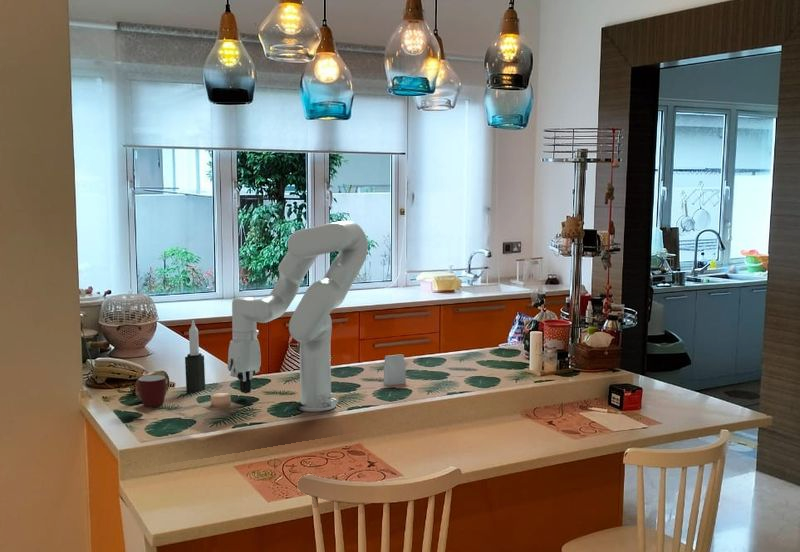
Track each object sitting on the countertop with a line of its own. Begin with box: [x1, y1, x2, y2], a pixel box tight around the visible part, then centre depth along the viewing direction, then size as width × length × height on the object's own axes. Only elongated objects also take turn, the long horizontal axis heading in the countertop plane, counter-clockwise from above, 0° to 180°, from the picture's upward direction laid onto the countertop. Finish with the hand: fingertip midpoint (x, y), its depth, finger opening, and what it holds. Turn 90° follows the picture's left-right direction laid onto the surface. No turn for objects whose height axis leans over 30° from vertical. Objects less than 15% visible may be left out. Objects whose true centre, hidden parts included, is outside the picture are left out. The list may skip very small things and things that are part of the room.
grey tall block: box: [383, 353, 407, 386], centre depth 274 cm, size 4×7×10 cm, turn 111°
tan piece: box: [170, 400, 245, 420], centre depth 240 cm, size 13×18×2 cm
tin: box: [134, 370, 170, 402], centre depth 258 cm, size 15×3×8 cm, turn 160°
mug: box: [138, 375, 166, 408], centre depth 245 cm, size 11×8×10 cm
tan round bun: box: [210, 392, 232, 408], centre depth 243 cm, size 6×6×3 cm
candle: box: [184, 319, 206, 395], centre depth 262 cm, size 5×5×25 cm
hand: (245, 392), depth 251 cm, fingers closed
